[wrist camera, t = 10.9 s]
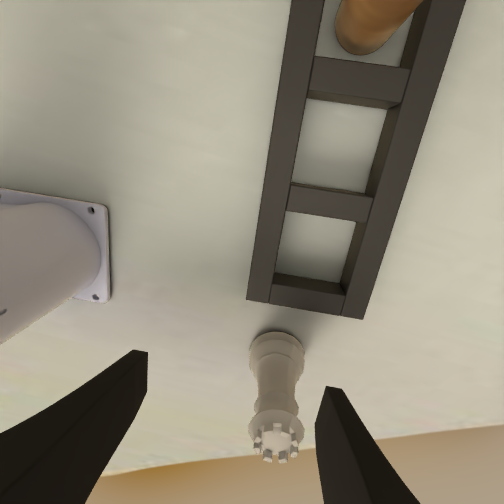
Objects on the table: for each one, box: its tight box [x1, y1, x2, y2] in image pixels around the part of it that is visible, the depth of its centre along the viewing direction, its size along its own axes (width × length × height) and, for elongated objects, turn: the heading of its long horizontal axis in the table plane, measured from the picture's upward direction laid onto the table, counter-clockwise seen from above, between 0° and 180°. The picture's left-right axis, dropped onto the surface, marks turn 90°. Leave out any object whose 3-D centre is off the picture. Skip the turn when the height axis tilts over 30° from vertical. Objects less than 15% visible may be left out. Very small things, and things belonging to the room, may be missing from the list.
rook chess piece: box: [249, 332, 304, 463], centre depth 19 cm, size 4×4×8 cm
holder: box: [246, 0, 466, 320], centre depth 16 cm, size 8×21×2 cm, turn 172°
